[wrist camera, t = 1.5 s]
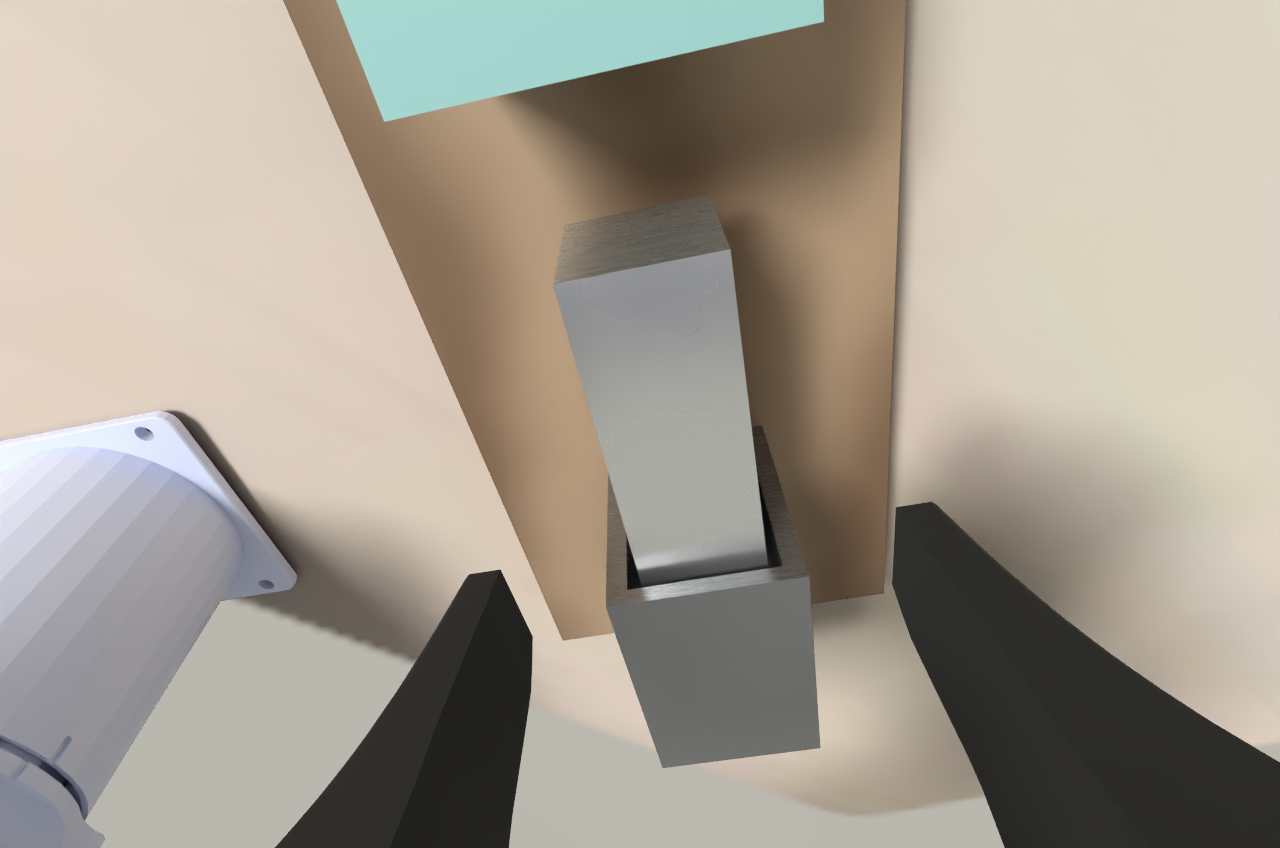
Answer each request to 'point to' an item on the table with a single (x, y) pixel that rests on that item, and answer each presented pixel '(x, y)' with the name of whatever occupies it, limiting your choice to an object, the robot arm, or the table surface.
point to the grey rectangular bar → (666, 385)
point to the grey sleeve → (721, 644)
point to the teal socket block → (537, 41)
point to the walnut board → (640, 178)
